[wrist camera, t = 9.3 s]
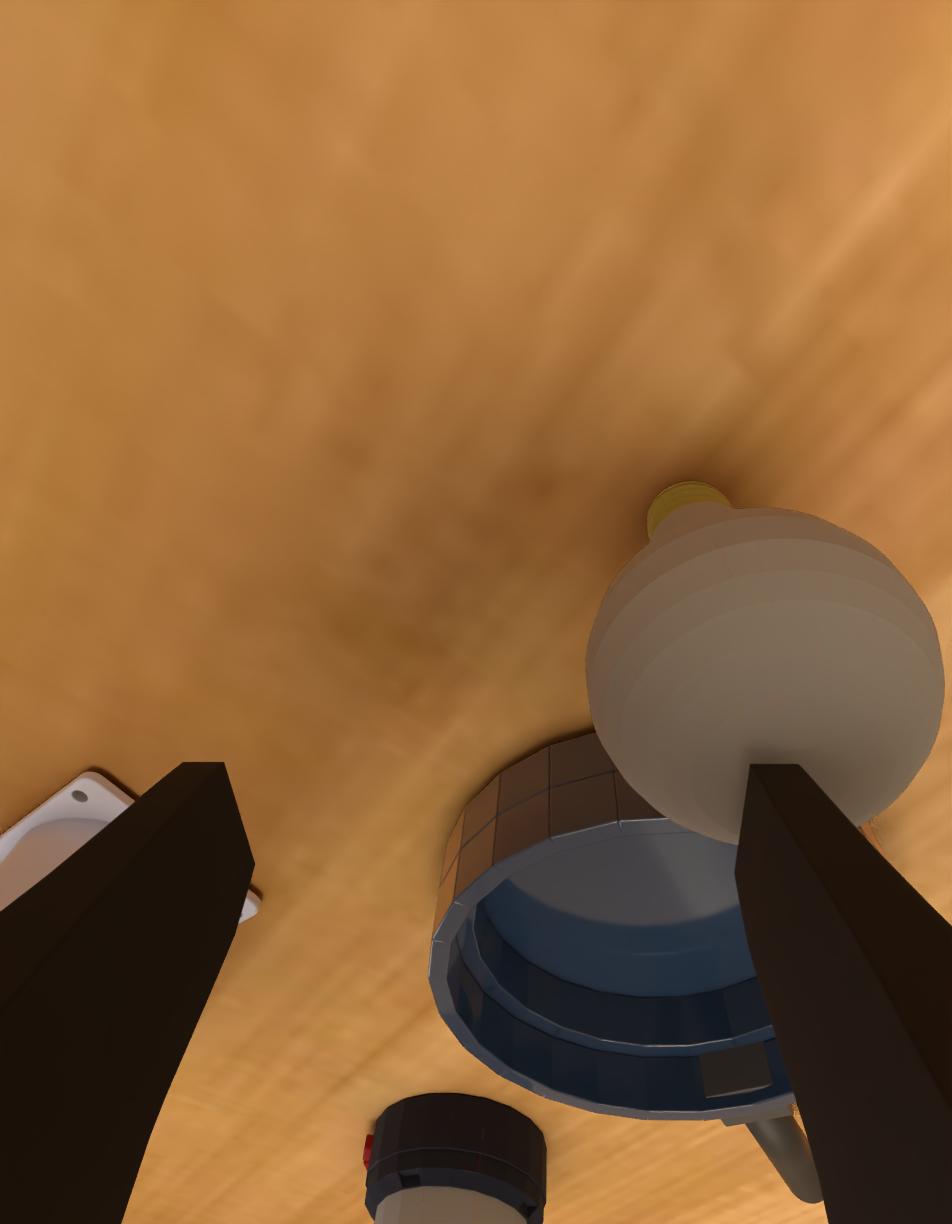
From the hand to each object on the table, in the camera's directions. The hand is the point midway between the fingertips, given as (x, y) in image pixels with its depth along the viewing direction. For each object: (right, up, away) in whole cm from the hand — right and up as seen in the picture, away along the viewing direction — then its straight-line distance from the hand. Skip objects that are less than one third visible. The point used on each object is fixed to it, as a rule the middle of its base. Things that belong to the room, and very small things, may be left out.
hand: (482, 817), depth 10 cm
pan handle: (+11, -16, +18) cm, 26 cm away
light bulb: (+5, +6, +9) cm, 11 cm away
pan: (+6, -6, +15) cm, 17 cm away
